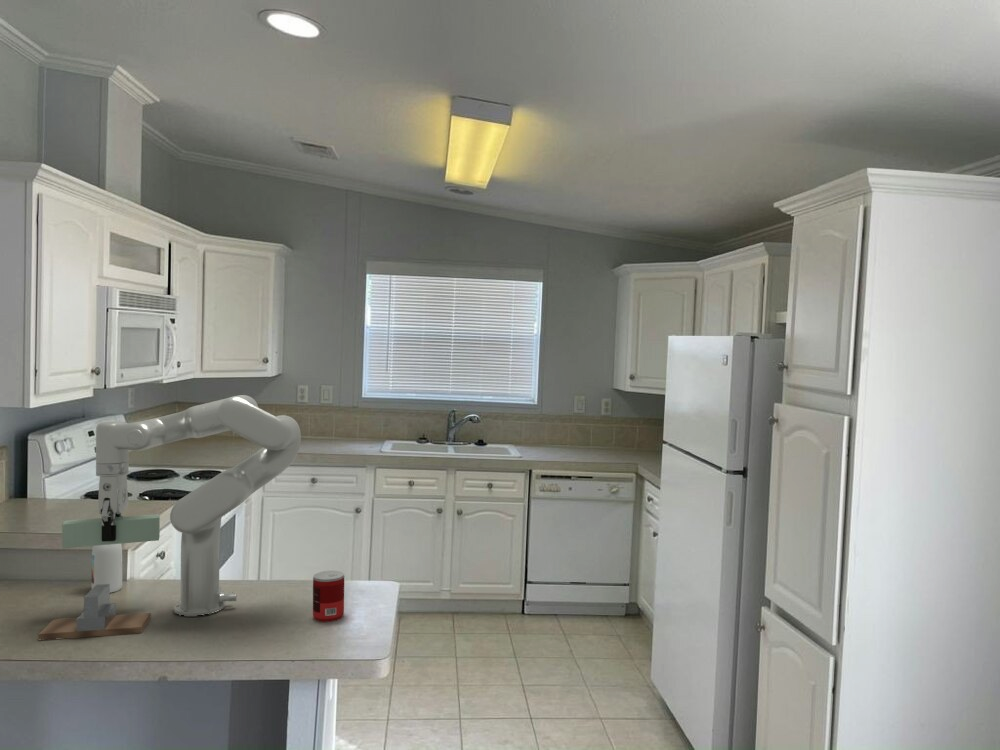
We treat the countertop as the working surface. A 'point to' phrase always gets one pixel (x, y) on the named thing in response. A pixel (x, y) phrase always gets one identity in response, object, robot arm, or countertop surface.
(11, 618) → the countertop surface
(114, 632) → the stand
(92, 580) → the milk bottle
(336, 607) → the canned food
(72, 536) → the beam
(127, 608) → the countertop surface
